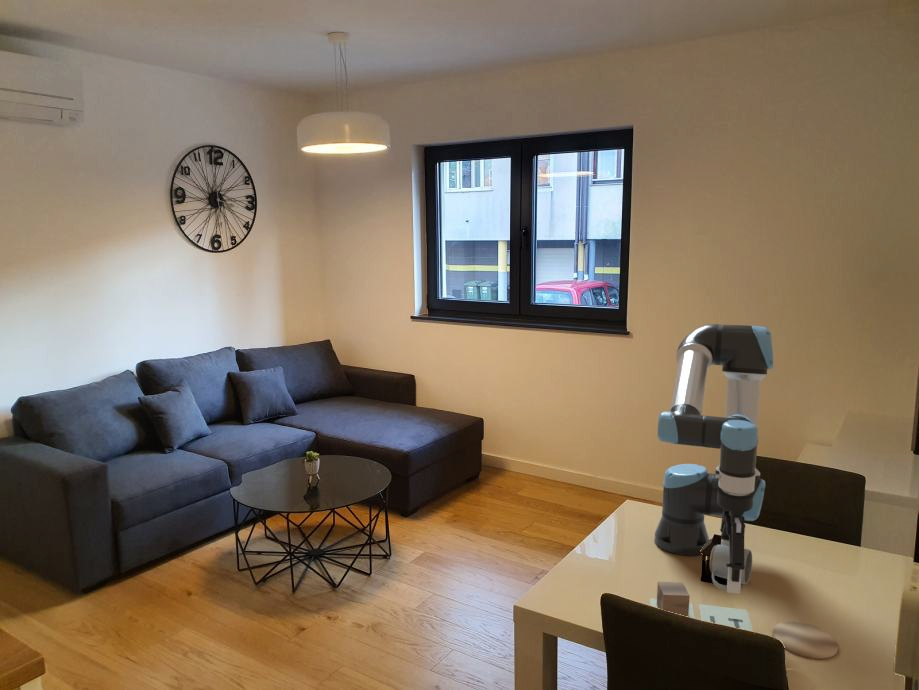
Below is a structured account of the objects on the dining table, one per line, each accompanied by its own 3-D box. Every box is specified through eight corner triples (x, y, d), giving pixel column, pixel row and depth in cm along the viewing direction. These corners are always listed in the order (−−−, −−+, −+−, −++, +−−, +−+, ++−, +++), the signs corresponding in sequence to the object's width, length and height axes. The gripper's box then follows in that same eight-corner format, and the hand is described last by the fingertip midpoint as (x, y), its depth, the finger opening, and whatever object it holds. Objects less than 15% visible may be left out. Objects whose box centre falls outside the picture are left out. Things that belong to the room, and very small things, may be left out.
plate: (649, 598, 168) (649, 598, 168) (692, 603, 165) (692, 603, 165) (651, 621, 158) (651, 620, 158) (696, 626, 156) (696, 626, 156)
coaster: (767, 620, 158) (767, 618, 158) (828, 628, 155) (828, 625, 155) (779, 654, 146) (779, 651, 146) (846, 662, 143) (846, 660, 143)
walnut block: (656, 604, 165) (657, 581, 164) (681, 605, 164) (682, 582, 163) (662, 618, 159) (663, 594, 158) (688, 619, 159) (689, 595, 158)
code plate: (698, 604, 165) (698, 603, 165) (746, 610, 162) (746, 609, 162) (704, 637, 152) (704, 637, 152) (757, 644, 149) (757, 643, 149)
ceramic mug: (715, 565, 162) (717, 536, 161) (752, 575, 157) (754, 545, 156) (703, 586, 154) (705, 555, 152) (741, 597, 149) (743, 565, 147)
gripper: (711, 469, 164) (706, 552, 168) (725, 510, 141) (718, 605, 145) (744, 471, 162) (738, 555, 166) (763, 513, 139) (756, 609, 144)
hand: (729, 578), depth 156 cm, fingers closed on ceramic mug, 11 cm apart
